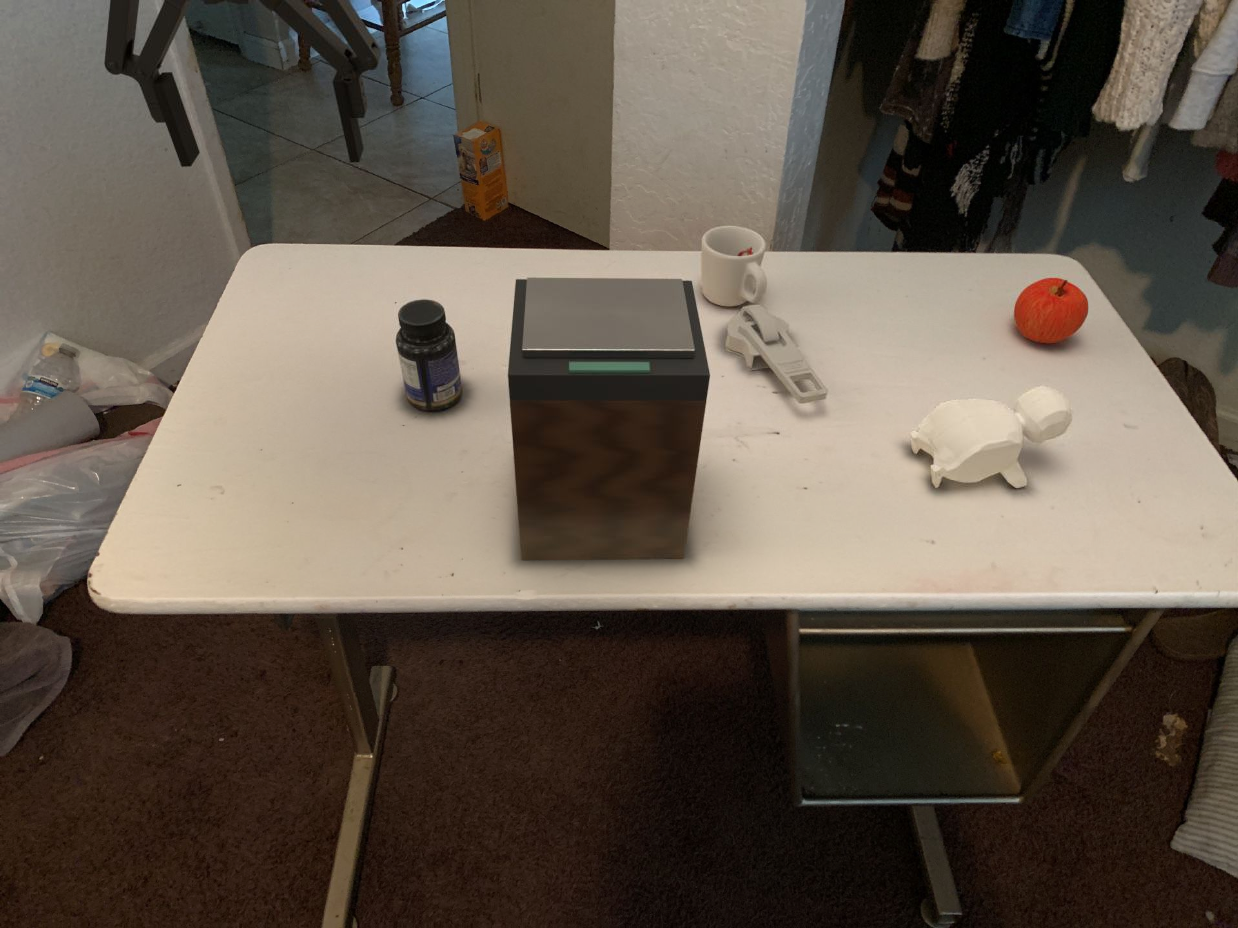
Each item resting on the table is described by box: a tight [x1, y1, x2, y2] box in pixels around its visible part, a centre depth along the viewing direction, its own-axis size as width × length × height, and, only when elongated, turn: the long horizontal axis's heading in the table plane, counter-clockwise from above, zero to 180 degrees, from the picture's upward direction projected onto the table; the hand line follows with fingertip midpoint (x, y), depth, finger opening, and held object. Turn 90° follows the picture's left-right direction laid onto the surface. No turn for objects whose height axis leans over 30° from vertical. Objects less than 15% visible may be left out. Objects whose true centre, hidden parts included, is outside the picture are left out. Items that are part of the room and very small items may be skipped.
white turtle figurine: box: [909, 385, 1074, 489], centre depth 85 cm, size 9×8×15 cm
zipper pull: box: [724, 303, 829, 404], centre depth 97 cm, size 8×18×4 cm, turn 18°
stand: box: [509, 400, 707, 561], centre depth 75 cm, size 15×13×19 cm
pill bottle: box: [395, 298, 463, 412], centre depth 88 cm, size 6×6×11 cm
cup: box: [700, 225, 768, 307], centre depth 105 cm, size 11×8×8 cm
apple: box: [1013, 277, 1089, 344], centre depth 102 cm, size 8×8×8 cm
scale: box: [507, 277, 711, 402], centre depth 67 cm, size 15×13×3 cm
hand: (274, 158), depth 70 cm, fingers open, 13 cm apart
